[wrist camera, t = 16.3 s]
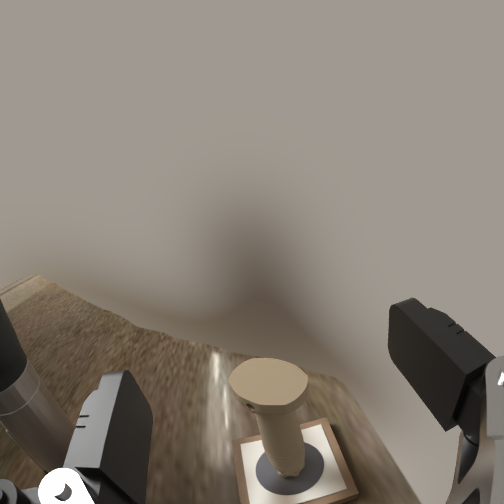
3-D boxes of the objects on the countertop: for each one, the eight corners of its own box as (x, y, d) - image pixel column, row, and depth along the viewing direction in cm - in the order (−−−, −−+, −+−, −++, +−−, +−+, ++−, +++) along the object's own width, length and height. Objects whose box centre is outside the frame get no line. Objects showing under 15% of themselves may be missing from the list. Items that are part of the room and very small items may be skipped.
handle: (278, 442, 32) (253, 351, 27) (326, 461, 28) (318, 371, 22) (253, 471, 28) (216, 386, 23) (302, 494, 24) (284, 415, 19)
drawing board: (246, 526, 23) (242, 521, 22) (235, 447, 34) (231, 439, 33) (357, 498, 24) (358, 492, 23) (326, 424, 35) (326, 415, 34)
